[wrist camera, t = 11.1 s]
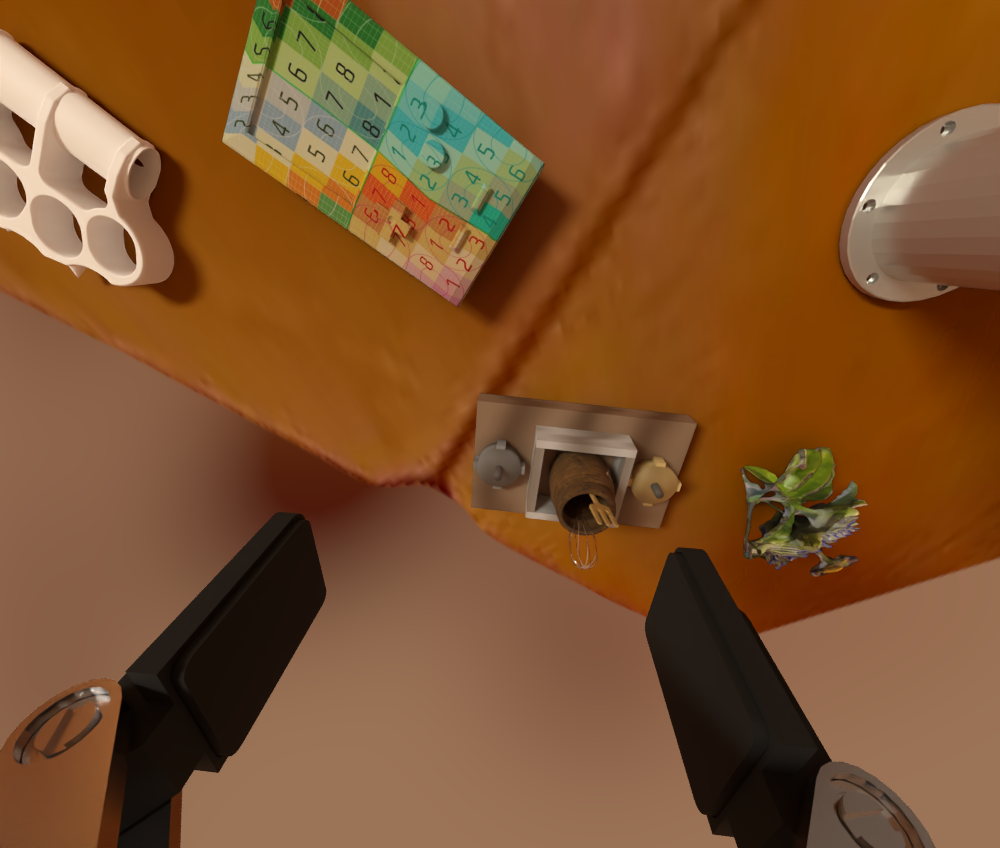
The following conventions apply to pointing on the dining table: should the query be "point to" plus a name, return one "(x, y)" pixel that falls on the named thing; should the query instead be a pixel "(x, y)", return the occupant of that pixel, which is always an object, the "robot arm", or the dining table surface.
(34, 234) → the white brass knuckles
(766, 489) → the passion flower
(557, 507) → the utensil holder
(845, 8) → the dining table surface
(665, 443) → the gear board
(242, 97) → the puzzle game
